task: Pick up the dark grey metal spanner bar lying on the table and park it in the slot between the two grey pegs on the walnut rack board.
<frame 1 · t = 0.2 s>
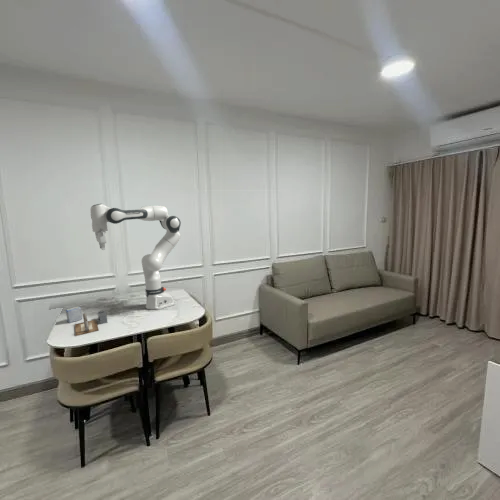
hand: (102, 249, 189), 47 cm above the table, fingers open, 8 cm apart
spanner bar: (103, 320, 188), on the table
medicine box: (75, 321, 191), on the table
rack: (86, 327, 178), on the table
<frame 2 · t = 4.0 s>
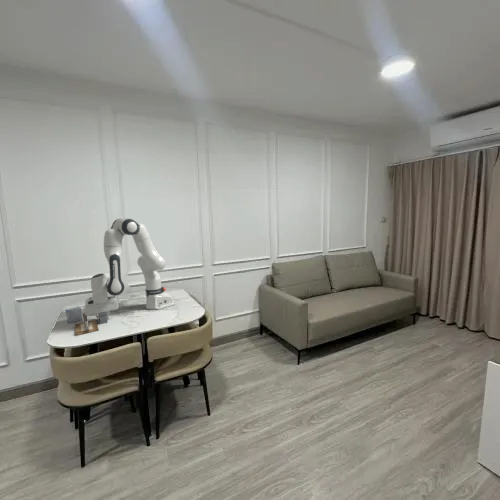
hand: (103, 318, 188), 2 cm above the table, fingers closed on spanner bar, 4 cm apart
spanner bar: (103, 320, 188), on the table, touching gripper
everything else where it was.
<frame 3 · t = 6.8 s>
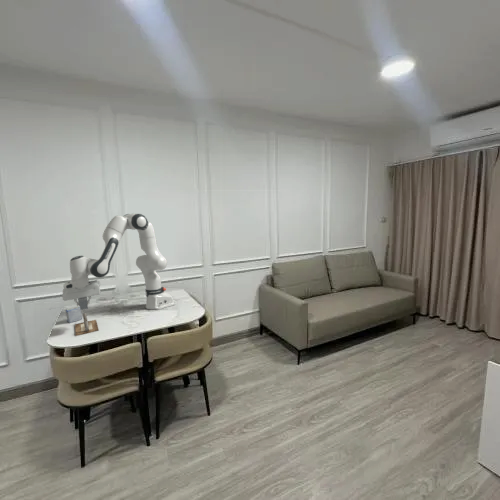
hand: (83, 304, 174), 16 cm above the table, fingers closed on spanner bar, 4 cm apart
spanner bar: (83, 307, 175), point 14 cm above the table, touching gripper
everything else where it was.
when the fingers open (4 cm above the table, at t = 9.6 s): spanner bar drops 1 cm, resting on rack.
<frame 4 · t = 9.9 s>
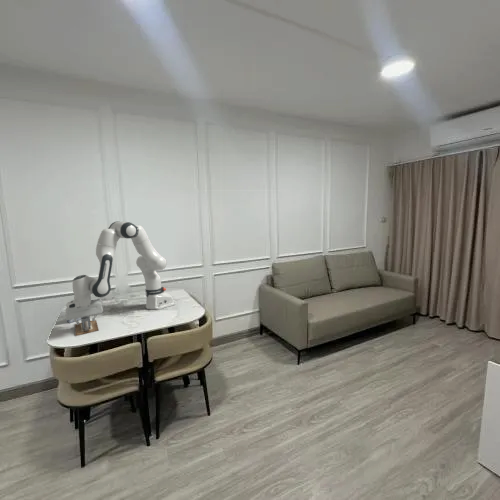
hand: (86, 322, 176), 4 cm above the table, fingers open, 7 cm apart
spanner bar: (86, 327, 177), point 1 cm above the table, touching rack
everything else where it was.
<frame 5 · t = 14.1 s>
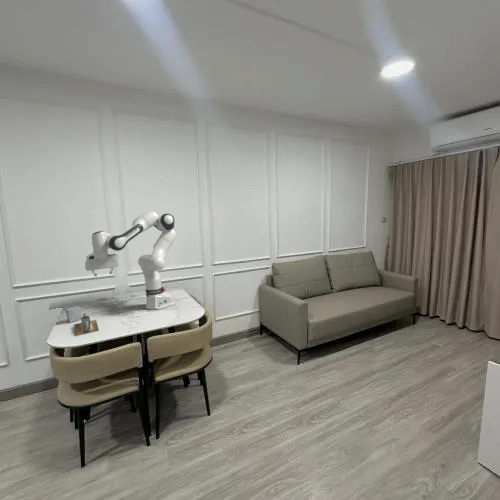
hand: (103, 275, 193), 29 cm above the table, fingers open, 8 cm apart
nothing on the table moved.
at the end: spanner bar 0.1 cm from the target spot on the rack, point 0.9 cm above the rack's base; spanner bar tilted 0°; the gripper is holding nothing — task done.
